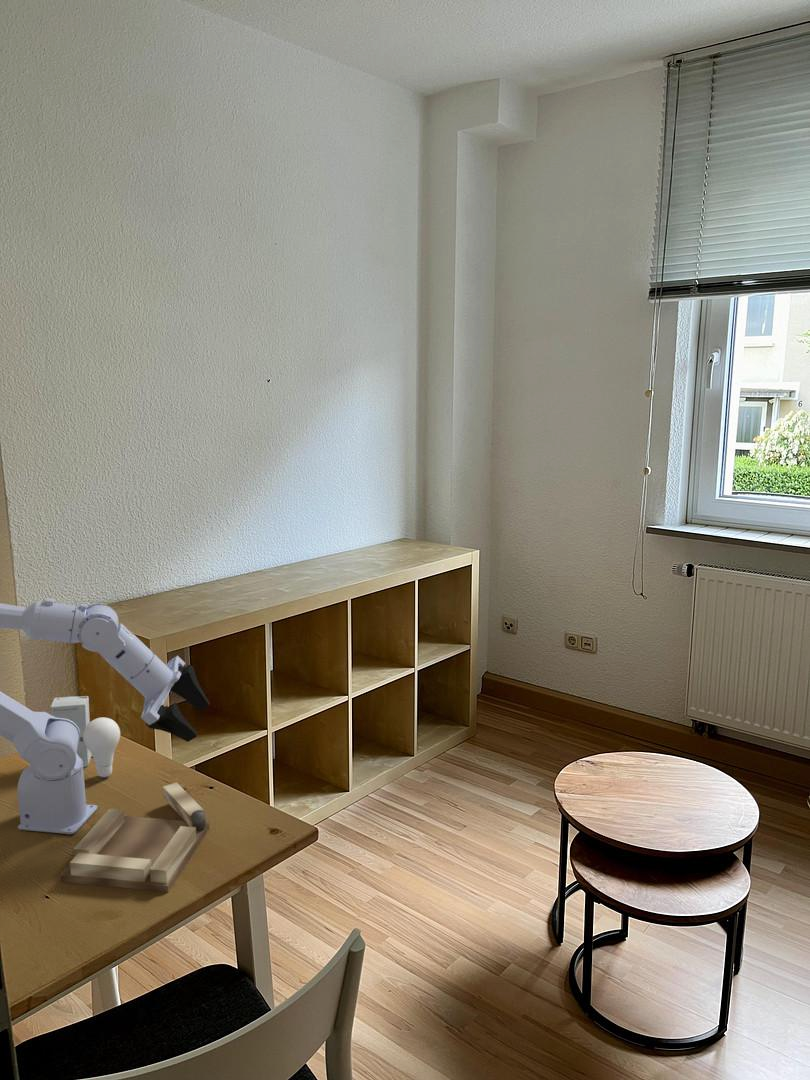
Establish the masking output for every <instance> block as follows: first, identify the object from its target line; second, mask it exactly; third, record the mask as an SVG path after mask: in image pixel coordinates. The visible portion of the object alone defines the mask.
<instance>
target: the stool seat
mask: <svg viewBox="0 0 810 1080" xmlns="http://www.w3.org/2000/svg"><path fill="white" fill-rule="evenodd" d="M209 830H210V823H209V822H206V827H205V828H203V829H201V830H196V827H190V826H189V825H188V824H187V823H186V822H185V820H176V819H164V818H152V817H141V816H133V815H131V816H129V815H125V810H124V809H118V808H116V809H115V808H108V809H107V810H106V812H105V813H104V814H103V815H102V816H101V817H100V819H98V820H97V822H96V823H95V824H94V825H93V826H92V827H91V829H90V830H89V831H88V832H87V833H86V835H84V836H83V838H82V839H81V840H80V841H79V842H78V843H77V844H76V846H74V847H73V858H72V859H71V860H70V861H69V864H68V865H67V867H66V868H65V869H64V870H63V871H62V872H61V873H60V875H59V880H60V882H61V883H62V882H63V883H73V884H83V885H89V886H91V885H92V886H102V887H112V888H113V887H114V888H121V889H133V890H144V891H152V892H163V893H169V891H170V890H171V888H172V886H173V885H174V883H175V882H176V881H177V879H178V877H179V876H180V875H181V873H182V872H183V870H184V868H185V867H186V865H187V864H188V862H189V860H190V859H191V858H192V856H193V854H194V853H195V852H196V850H197V849H198V847H199V845H200V843H201V842H202V841H203V840H204V837H206V835H207V833H208V831H209Z"/></svg>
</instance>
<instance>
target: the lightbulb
mask: <svg viewBox="0 0 810 1080" xmlns="http://www.w3.org/2000/svg"><path fill="white" fill-rule="evenodd" d="M120 739H121V728H120V727H119V724H118V723H117V722H116V721H115V720H113V719H112V718H109V717H104V716H103V717H97V718H95V719H93V720H91V721H90V723H89V724H88V725H87V726H86V728H85V730H84V733H83V740H84V743H85V745H86V747H87V748H88V750H89V751H90V752H91V754H92V759H93V763H94V765H95V768H96V774H97V776H98V777H102V778H103V779H105V778H108V777H109V776H110V775H112V773H113V763H114V754H115V751H116V748H117V746H118V745H119V742H120Z"/></svg>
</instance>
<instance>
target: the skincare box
mask: <svg viewBox="0 0 810 1080" xmlns="http://www.w3.org/2000/svg"><path fill="white" fill-rule="evenodd" d="M89 700H90V698H89V696H88V695H84V696H83V695H82V696H76V695H75V696H64V697H63V696H62V697H59V696H58V697H54V698H53V700H52V703H51V705H50V706H49V707H50V711H49V712H50V715H52V716H54V717H58V718H65V719H69V720H71V721H73V722H74V723H75V724H76V725H77V726H78V728H79V730H80V741H79V743H78V747H77V752H76V753H77V754H78V756H79V757H80V758H81V759H82V761H83V768H86V767H89V765H90V761H91V759H92V757H93V755H92V754H91V752H90V751H89V750H88V748H87V747H86V745H85V743H84V740H83V733H84V730H85V728H86V726H87V725H88V724H89V723H90V722H91V721H90V720H91V719H90V717H91V716H90V702H89Z"/></svg>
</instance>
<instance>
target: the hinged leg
mask: <svg viewBox="0 0 810 1080" xmlns="http://www.w3.org/2000/svg"><path fill="white" fill-rule="evenodd" d="M162 791H163V795H162V796H163V799H164V800H165V801H166V802H167V803H168V804H169V805H170V806H171V808H173V809H174V811H175V812H176V813H177V814H178V815H179V816H180V818H182V820H183V821H185V822H186V823H187V824H188V825H189V826H190V827H196V830H201V829H203V828H205V827H206V823H207V820H206V818H207V817H206V811H205V810H204V809H203V807H201V806H200V804H198V803H197V801H196V800H195V799H194V798H193V797H192V796H191V795H190V794H189V793H188V792H187V791H186V790H185V789H184V788H183V787H182V786H181V785H180V784H179V783H178V782H173V783H170V784H167V785H164V786H162Z"/></svg>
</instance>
